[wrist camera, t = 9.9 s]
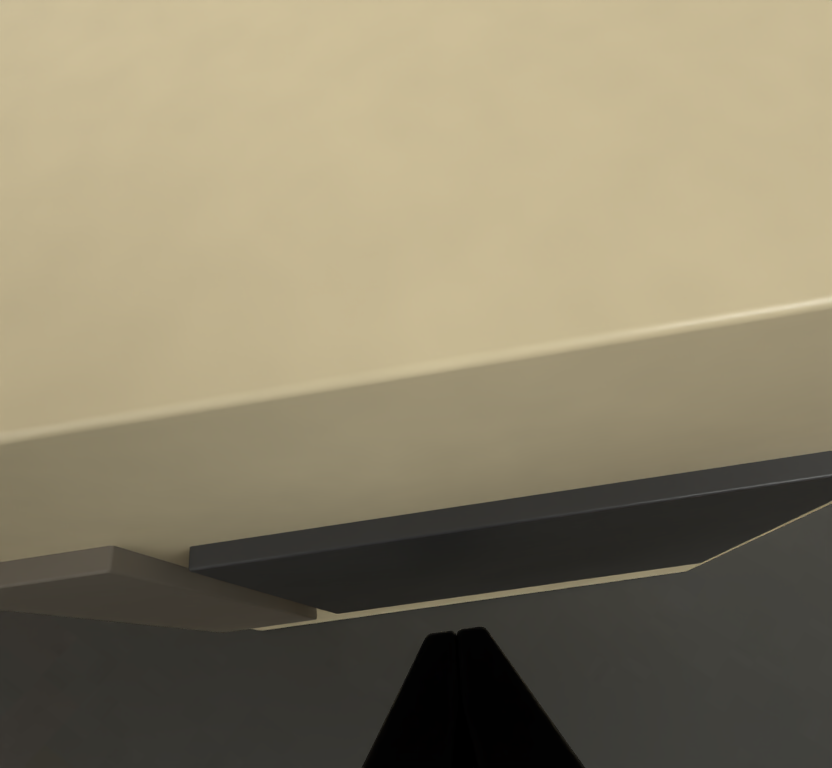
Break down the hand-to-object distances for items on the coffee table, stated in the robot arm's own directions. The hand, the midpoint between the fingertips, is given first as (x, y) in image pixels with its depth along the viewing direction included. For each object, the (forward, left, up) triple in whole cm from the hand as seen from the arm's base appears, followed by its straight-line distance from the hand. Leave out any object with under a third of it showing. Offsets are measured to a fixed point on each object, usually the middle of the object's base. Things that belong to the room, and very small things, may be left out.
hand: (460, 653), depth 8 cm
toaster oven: (+7, +2, -7) cm, 10 cm away
